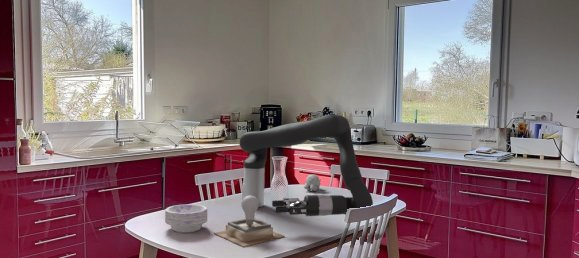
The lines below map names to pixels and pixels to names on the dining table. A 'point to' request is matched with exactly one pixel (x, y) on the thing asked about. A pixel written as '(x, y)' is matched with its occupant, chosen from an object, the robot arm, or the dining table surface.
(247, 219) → the lightbulb
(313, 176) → the round bodied animal figurine
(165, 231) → the dining table surface
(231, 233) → the square tan tray
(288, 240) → the dining table surface
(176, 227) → the paper bowls
